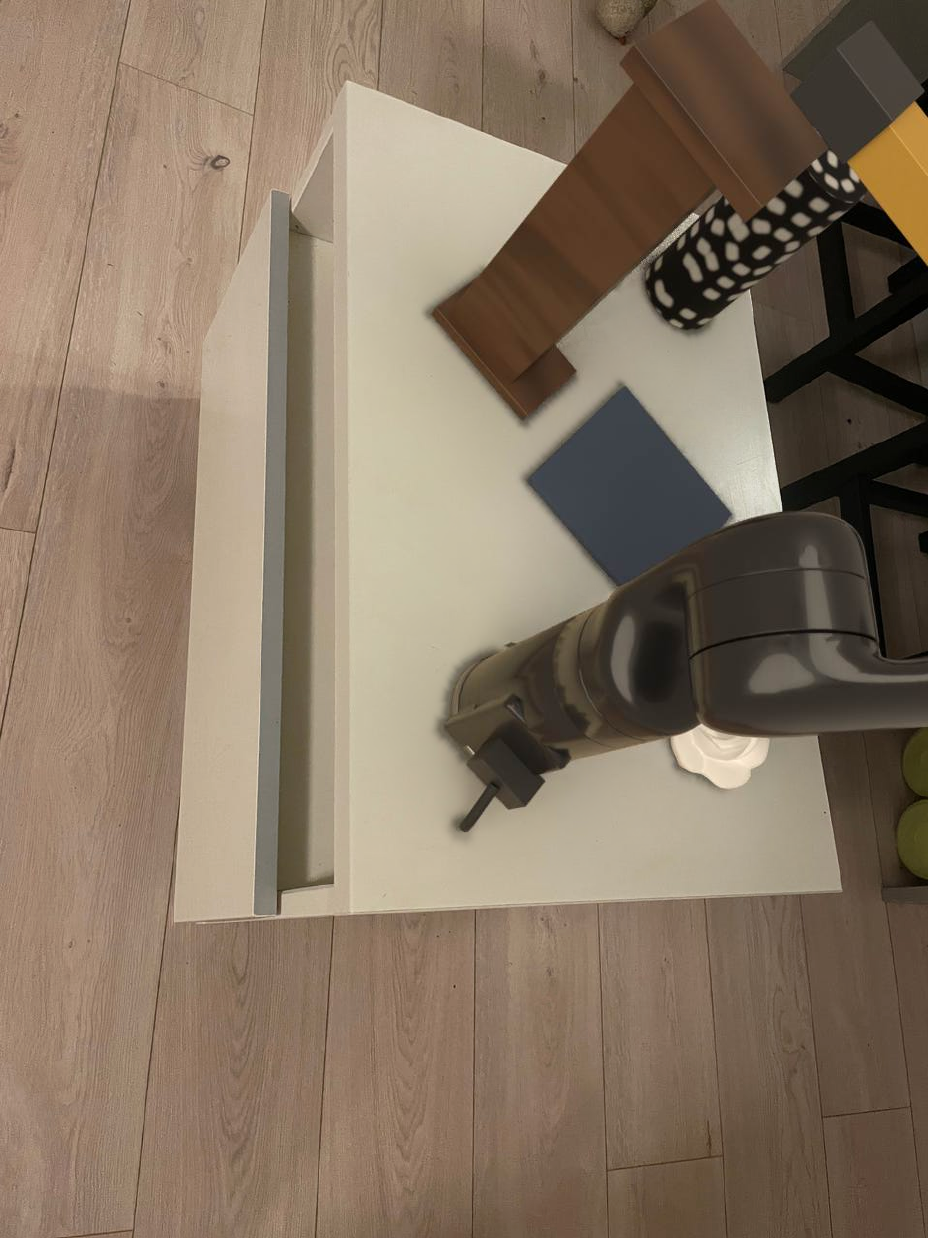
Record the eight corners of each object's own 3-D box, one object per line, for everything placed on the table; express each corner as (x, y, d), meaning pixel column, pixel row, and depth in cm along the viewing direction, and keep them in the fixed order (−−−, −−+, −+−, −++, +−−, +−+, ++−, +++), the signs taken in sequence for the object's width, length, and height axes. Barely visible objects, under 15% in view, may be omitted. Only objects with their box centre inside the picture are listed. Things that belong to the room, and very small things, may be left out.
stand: (515, 426, 80) (762, 207, 55) (423, 318, 79) (633, 43, 54) (577, 371, 85) (829, 147, 60) (491, 268, 84) (713, -5, 59)
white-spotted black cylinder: (706, 343, 94) (867, 219, 77) (641, 307, 91) (793, 170, 74) (712, 280, 98) (868, 148, 81) (649, 243, 95) (797, 98, 78)
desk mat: (645, 618, 81) (649, 616, 81) (526, 480, 79) (529, 477, 79) (728, 516, 89) (732, 513, 89) (621, 388, 87) (625, 385, 87)
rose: (801, 774, 78) (717, 794, 74) (763, 780, 82) (681, 800, 78) (770, 660, 80) (686, 672, 76) (734, 671, 84) (652, 683, 79)
